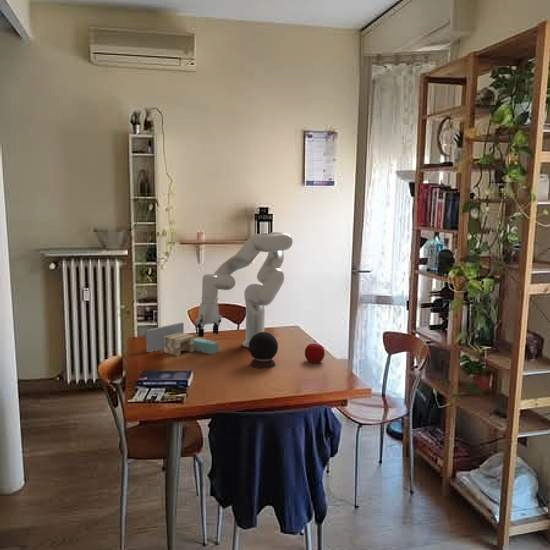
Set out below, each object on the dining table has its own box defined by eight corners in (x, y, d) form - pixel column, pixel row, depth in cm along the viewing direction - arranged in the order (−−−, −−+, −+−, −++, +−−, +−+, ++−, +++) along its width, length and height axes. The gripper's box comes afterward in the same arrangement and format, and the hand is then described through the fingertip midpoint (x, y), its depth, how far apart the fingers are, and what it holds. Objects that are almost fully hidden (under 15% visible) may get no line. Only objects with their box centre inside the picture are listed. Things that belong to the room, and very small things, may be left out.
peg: (218, 352, 259) (218, 342, 258) (210, 354, 255) (210, 344, 254) (198, 347, 267) (198, 337, 267) (190, 349, 263) (190, 339, 263)
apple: (301, 363, 244) (301, 341, 243) (309, 358, 252) (309, 337, 251) (319, 366, 240) (320, 344, 238) (327, 361, 248) (328, 340, 246)
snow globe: (258, 358, 249) (259, 327, 247) (282, 363, 243) (283, 331, 241) (242, 365, 238) (243, 333, 236) (267, 371, 231) (268, 337, 229)
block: (194, 351, 259) (194, 335, 258) (176, 355, 251) (176, 339, 249) (181, 347, 265) (181, 332, 264) (164, 352, 256) (164, 336, 255)
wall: (183, 344, 272) (183, 323, 270) (148, 353, 255) (148, 330, 253) (181, 343, 273) (181, 322, 271) (146, 352, 256) (146, 330, 254)
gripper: (216, 297, 264) (215, 331, 266) (190, 300, 250) (189, 336, 252) (227, 299, 259) (226, 333, 261) (201, 303, 246) (200, 339, 248)
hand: (208, 335), depth 257 cm, fingers open, 9 cm apart
